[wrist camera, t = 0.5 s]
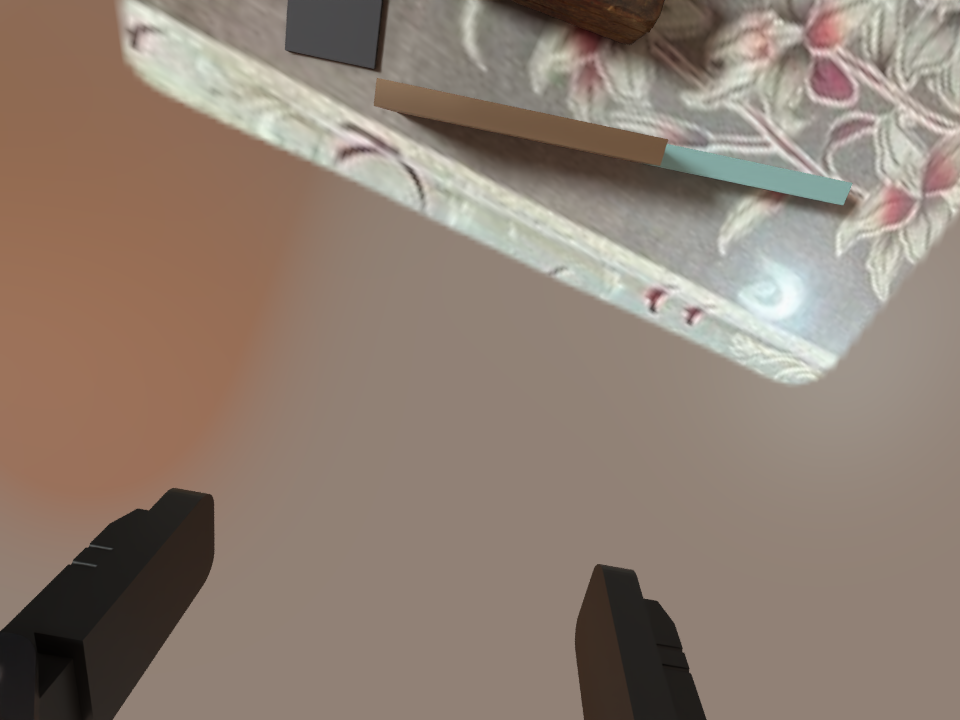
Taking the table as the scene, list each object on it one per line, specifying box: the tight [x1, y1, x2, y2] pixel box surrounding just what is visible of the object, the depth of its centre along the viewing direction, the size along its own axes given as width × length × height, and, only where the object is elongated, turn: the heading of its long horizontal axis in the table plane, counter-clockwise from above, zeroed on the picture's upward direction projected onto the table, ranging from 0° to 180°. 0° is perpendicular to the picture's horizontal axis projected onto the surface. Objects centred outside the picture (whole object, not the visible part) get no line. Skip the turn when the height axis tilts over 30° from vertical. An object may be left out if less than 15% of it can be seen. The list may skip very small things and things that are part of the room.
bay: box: [642, 144, 852, 205], centre depth 29 cm, size 13×11×2 cm
